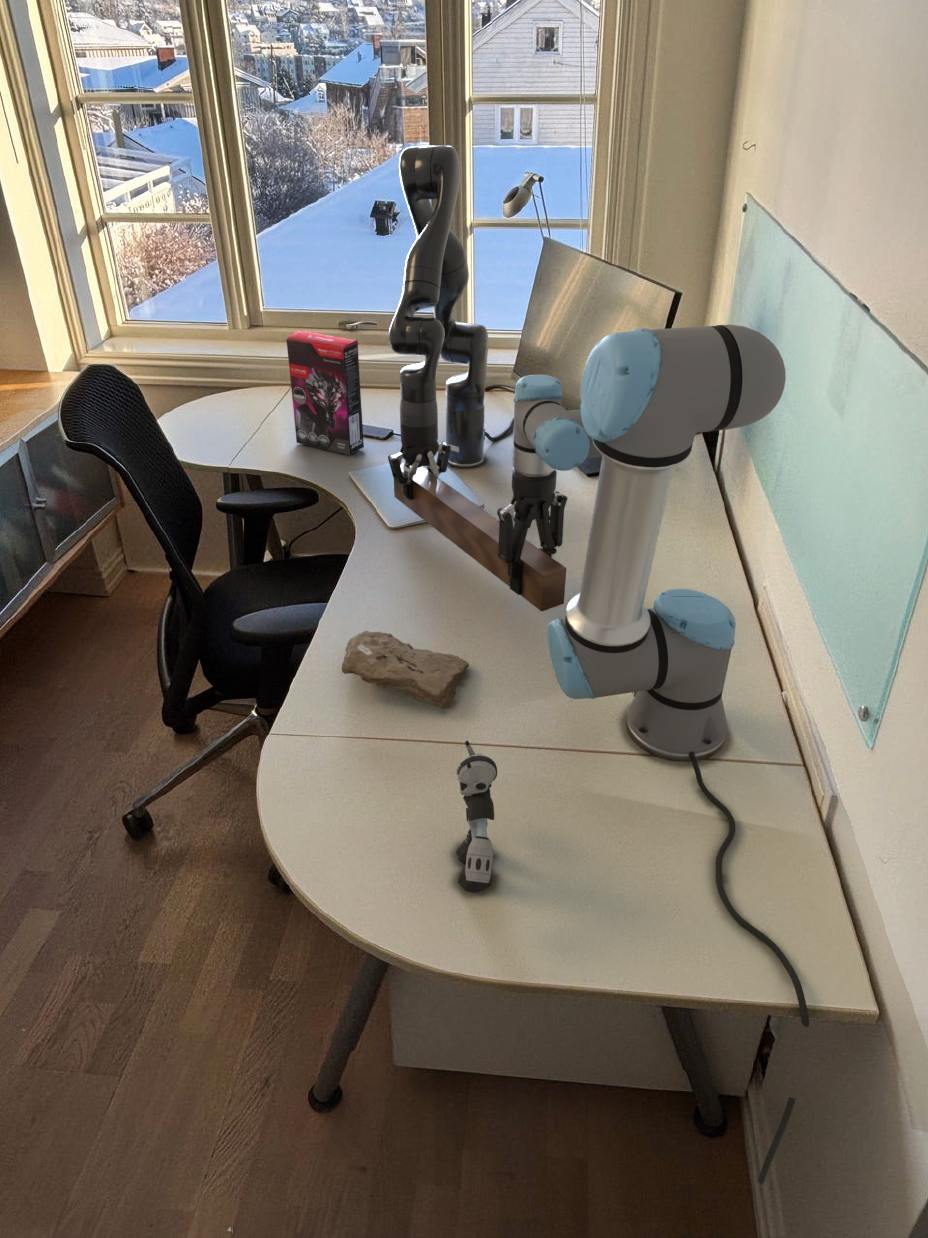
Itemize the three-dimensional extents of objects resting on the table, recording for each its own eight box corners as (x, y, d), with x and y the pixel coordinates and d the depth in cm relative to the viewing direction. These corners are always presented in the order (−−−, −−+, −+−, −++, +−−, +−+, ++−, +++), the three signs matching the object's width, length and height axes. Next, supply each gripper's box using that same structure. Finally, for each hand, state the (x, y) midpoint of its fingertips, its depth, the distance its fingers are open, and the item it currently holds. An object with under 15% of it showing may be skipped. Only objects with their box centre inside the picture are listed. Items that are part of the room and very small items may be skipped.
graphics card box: (294, 443, 234) (283, 336, 218) (310, 434, 239) (300, 328, 224) (350, 457, 227) (343, 347, 212) (366, 447, 232) (360, 339, 217)
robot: (499, 928, 112) (505, 811, 101) (459, 930, 112) (460, 812, 101) (488, 811, 128) (491, 699, 117) (453, 812, 128) (453, 700, 117)
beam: (564, 603, 164) (566, 567, 160) (541, 612, 162) (543, 575, 158) (414, 491, 201) (413, 460, 197) (394, 497, 199) (392, 465, 195)
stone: (317, 681, 147) (323, 648, 145) (352, 647, 161) (358, 617, 158) (439, 725, 144) (448, 692, 141) (465, 687, 157) (473, 656, 155)
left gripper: (439, 405, 190) (440, 481, 200) (378, 419, 184) (382, 496, 193) (459, 417, 185) (459, 494, 194) (396, 432, 178) (399, 510, 188)
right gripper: (563, 449, 162) (555, 564, 175) (477, 472, 154) (475, 591, 166) (590, 464, 157) (580, 582, 169) (503, 488, 148) (499, 610, 161)
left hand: (420, 494), depth 194 cm, fingers closed on beam, 5 cm apart
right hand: (528, 586), depth 168 cm, fingers closed on beam, 5 cm apart
